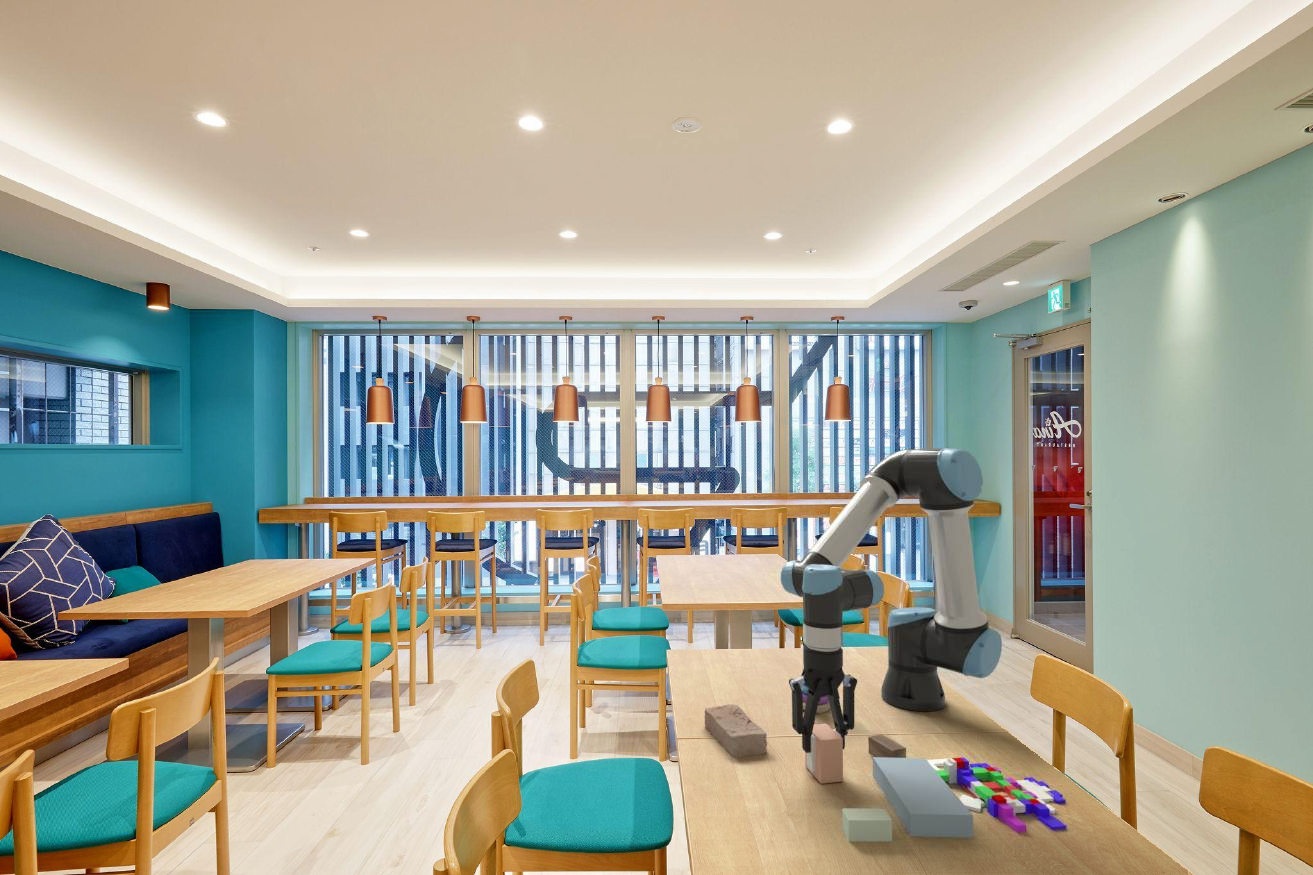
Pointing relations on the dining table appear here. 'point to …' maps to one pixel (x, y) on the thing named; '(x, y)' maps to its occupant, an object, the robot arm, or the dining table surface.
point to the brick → (735, 730)
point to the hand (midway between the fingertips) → (823, 766)
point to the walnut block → (885, 747)
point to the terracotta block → (828, 754)
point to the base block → (922, 798)
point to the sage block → (866, 824)
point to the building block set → (997, 804)
